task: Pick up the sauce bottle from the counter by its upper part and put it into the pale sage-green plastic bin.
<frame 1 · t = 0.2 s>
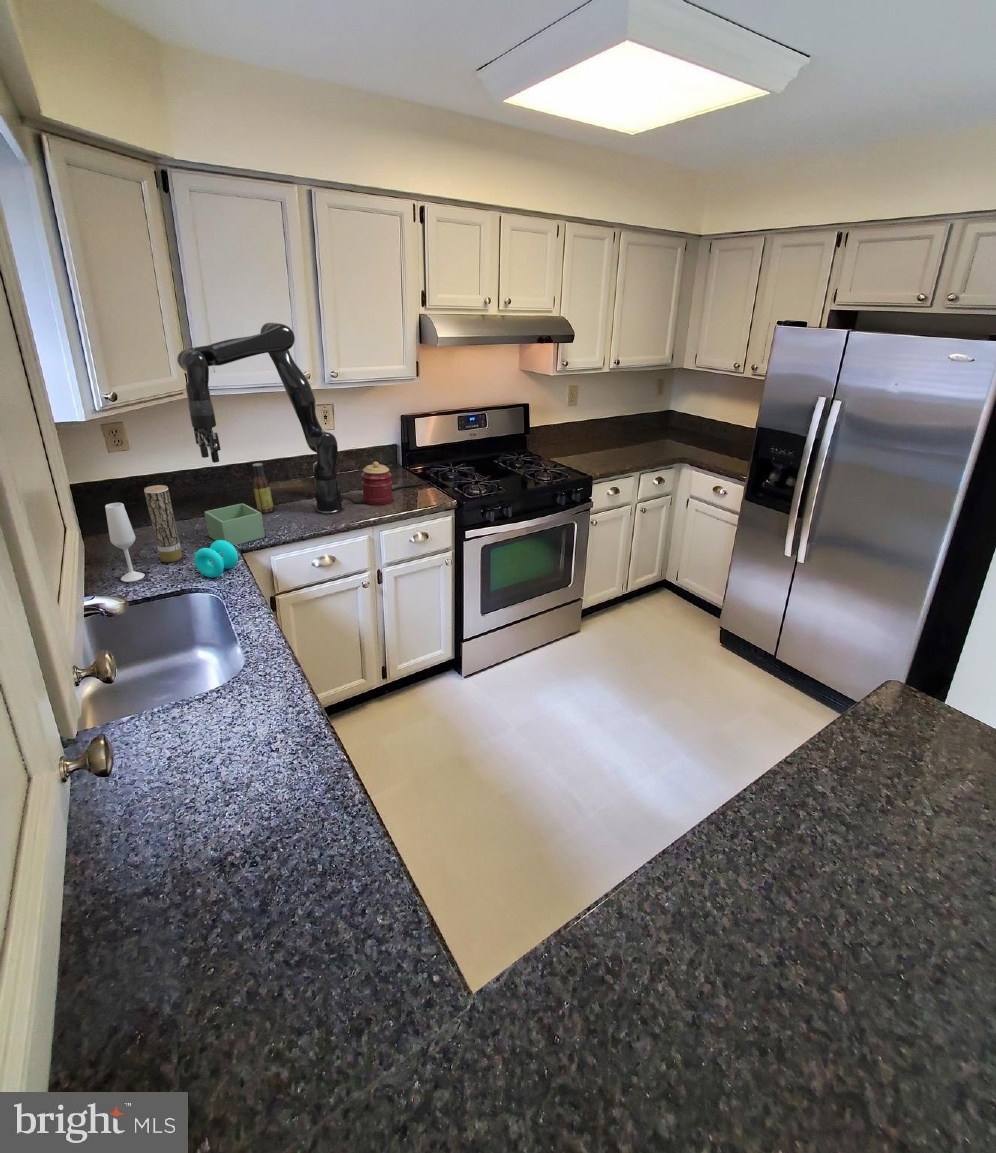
hand: (210, 459, 209), 29 cm above the countertop, tool pointing down, fingers open, 8 cm apart
kitchen canister: (377, 501, 265), on the countertop
sauce bottle: (265, 511, 248), on the countertop
champagne flute: (133, 577, 190), on the countertop
bin: (236, 536, 222), on the countertop
beverage bottle: (330, 497, 267), on the countertop
turquoise yo-yo: (219, 573, 195), on the countertop
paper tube: (171, 559, 203), on the countertop
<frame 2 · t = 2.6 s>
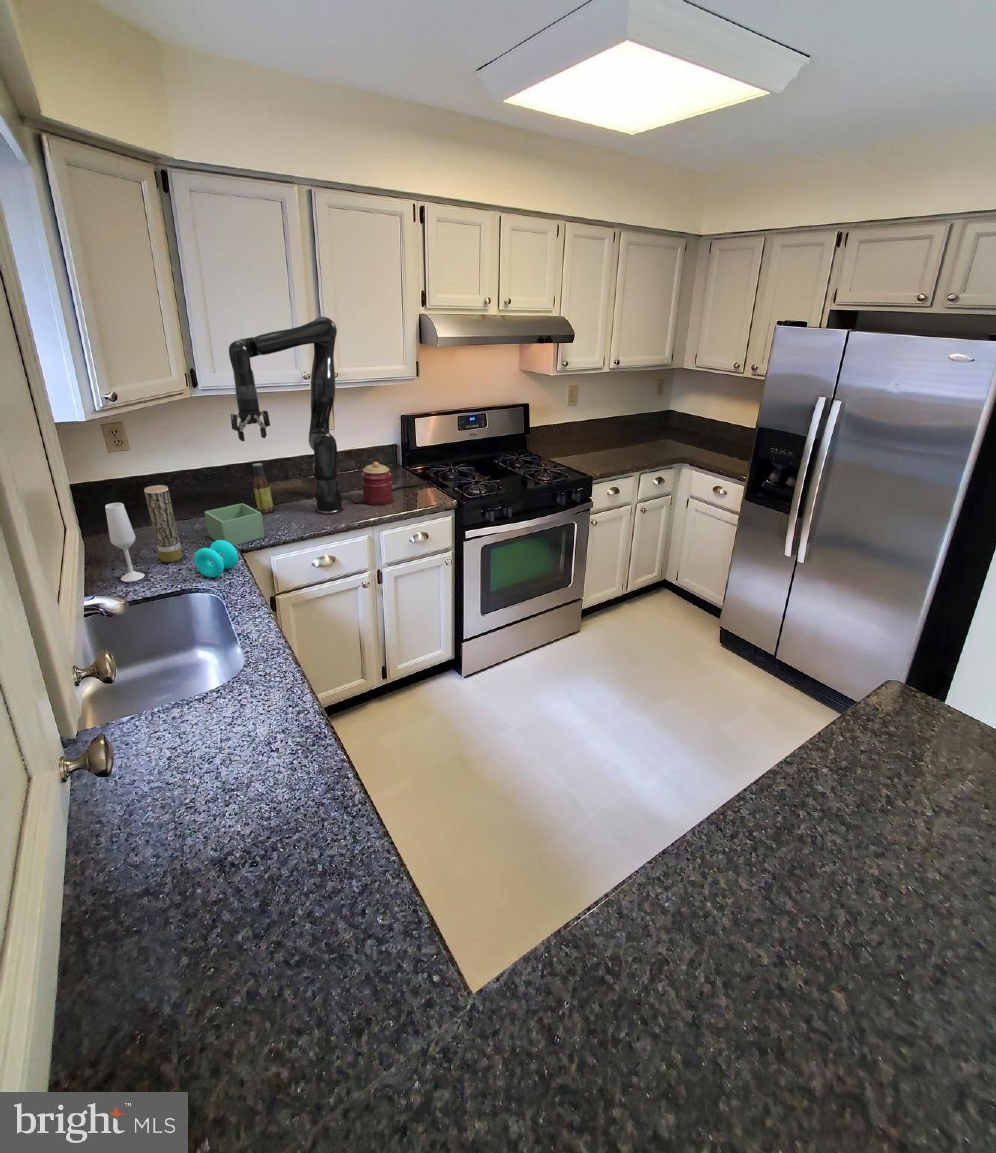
hand: (253, 439, 233), 30 cm above the countertop, tool pointing down, fingers open, 8 cm apart
nothing on the countertop moved.
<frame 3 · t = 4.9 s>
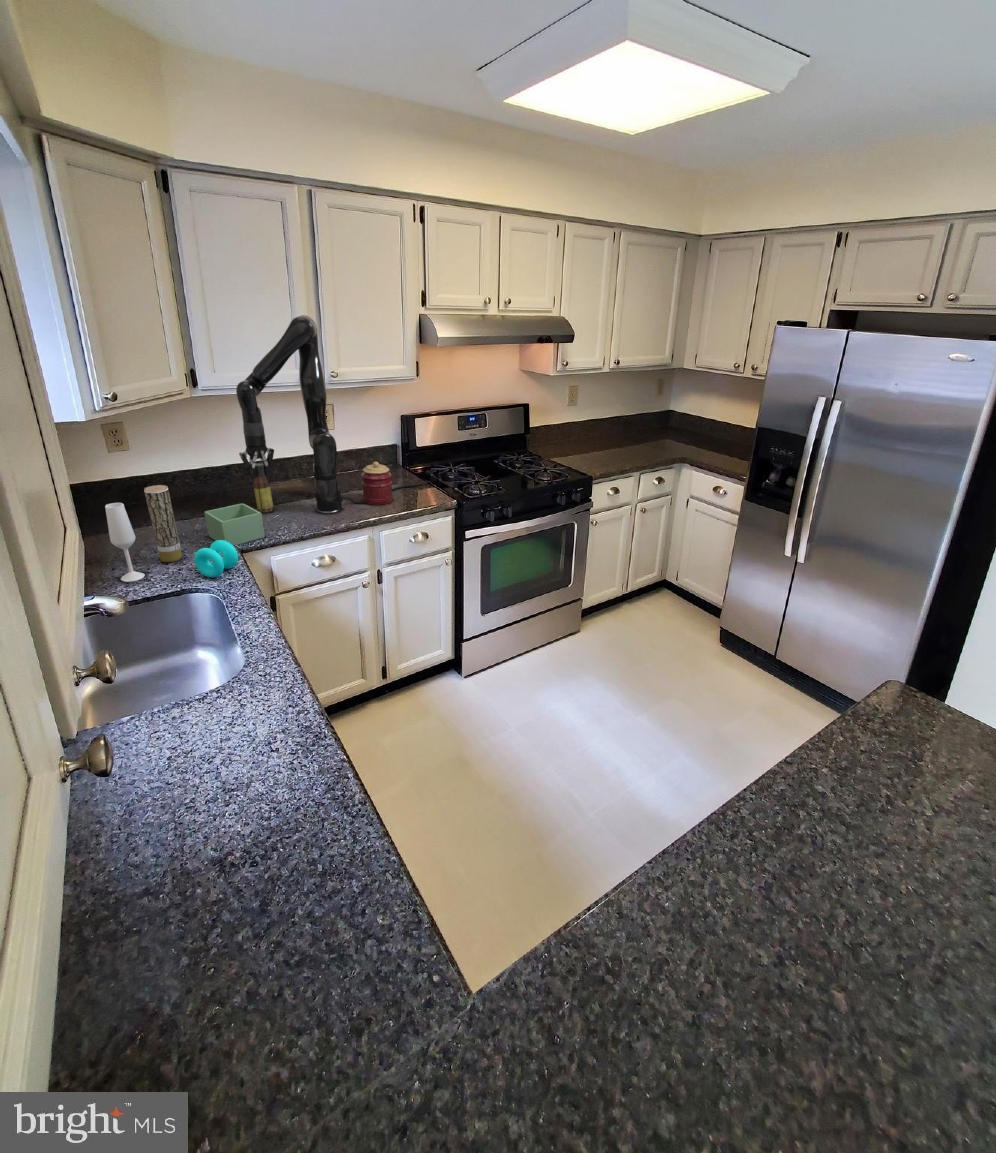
hand: (260, 475, 241), 15 cm above the countertop, tool pointing down, fingers closed on sauce bottle, 4 cm apart
sauce bottle: (265, 511, 248), on the countertop, touching gripper
everything else where it was.
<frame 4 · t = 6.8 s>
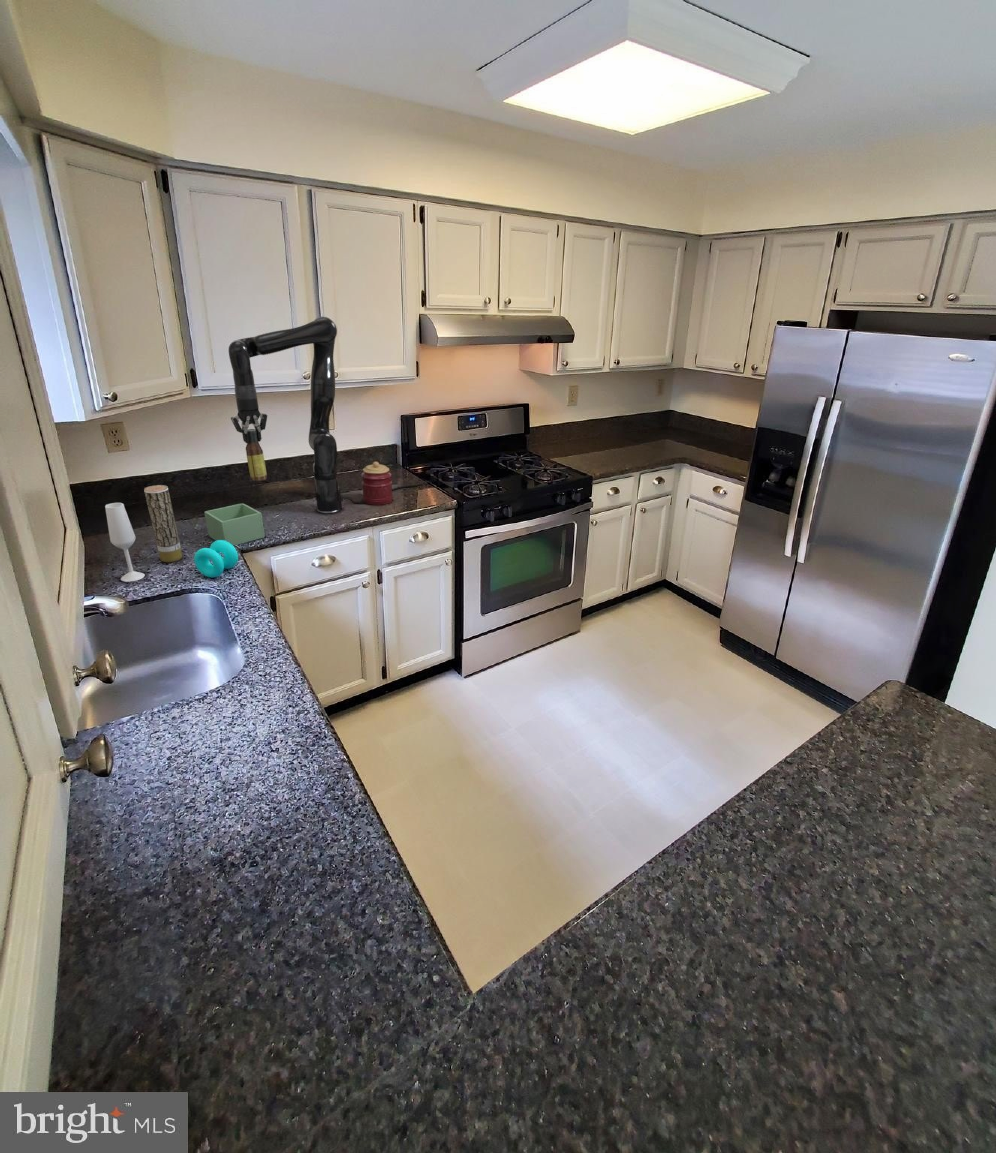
hand: (252, 441, 233), 29 cm above the countertop, tool pointing down, fingers closed on sauce bottle, 4 cm apart
sauce bottle: (258, 480, 239), point 14 cm above the countertop, touching gripper
everything else where it was.
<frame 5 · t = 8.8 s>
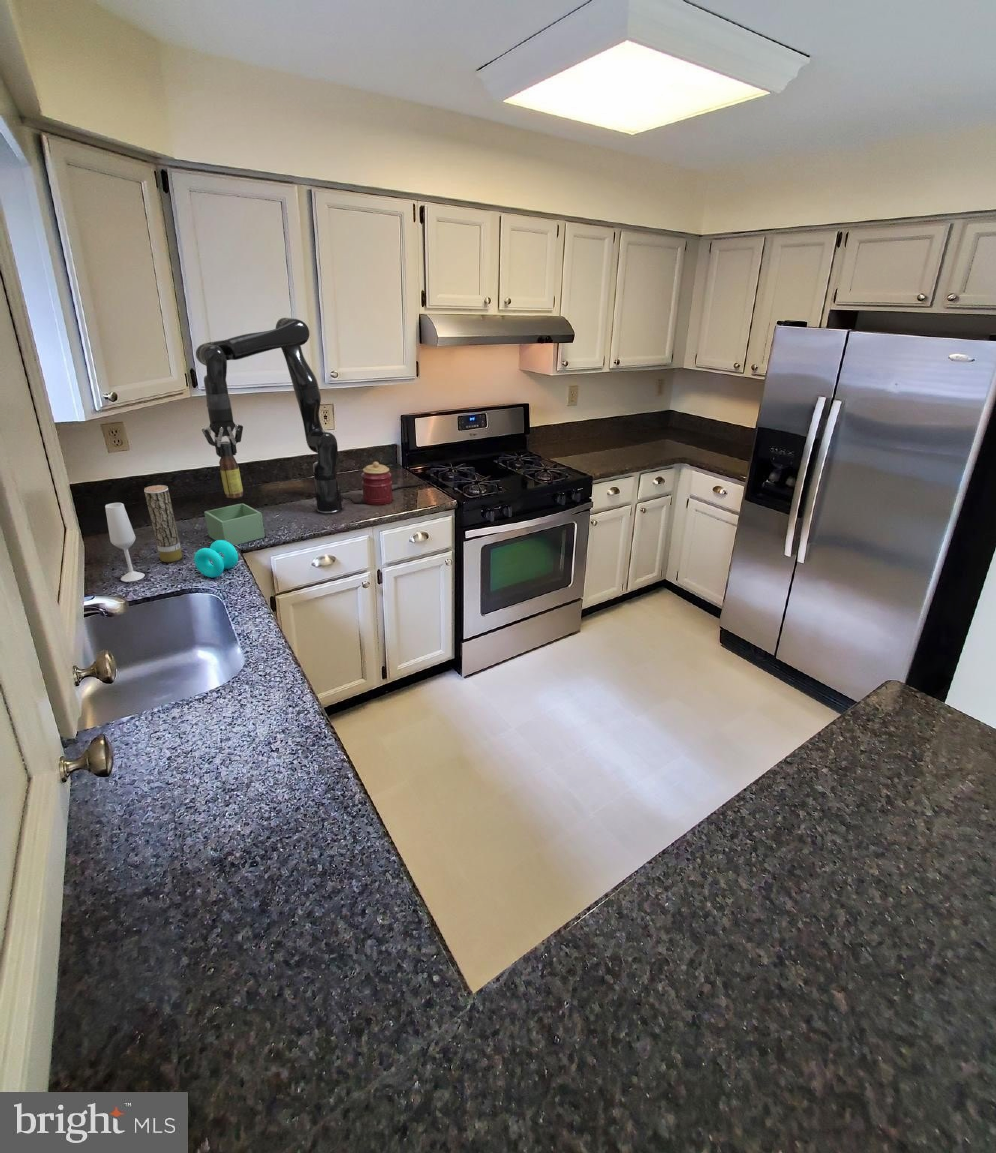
hand: (227, 455, 212), 30 cm above the countertop, tool pointing down, fingers closed on sauce bottle, 4 cm apart
sauce bottle: (234, 497, 219), point 14 cm above the countertop, touching gripper
everything else where it was.
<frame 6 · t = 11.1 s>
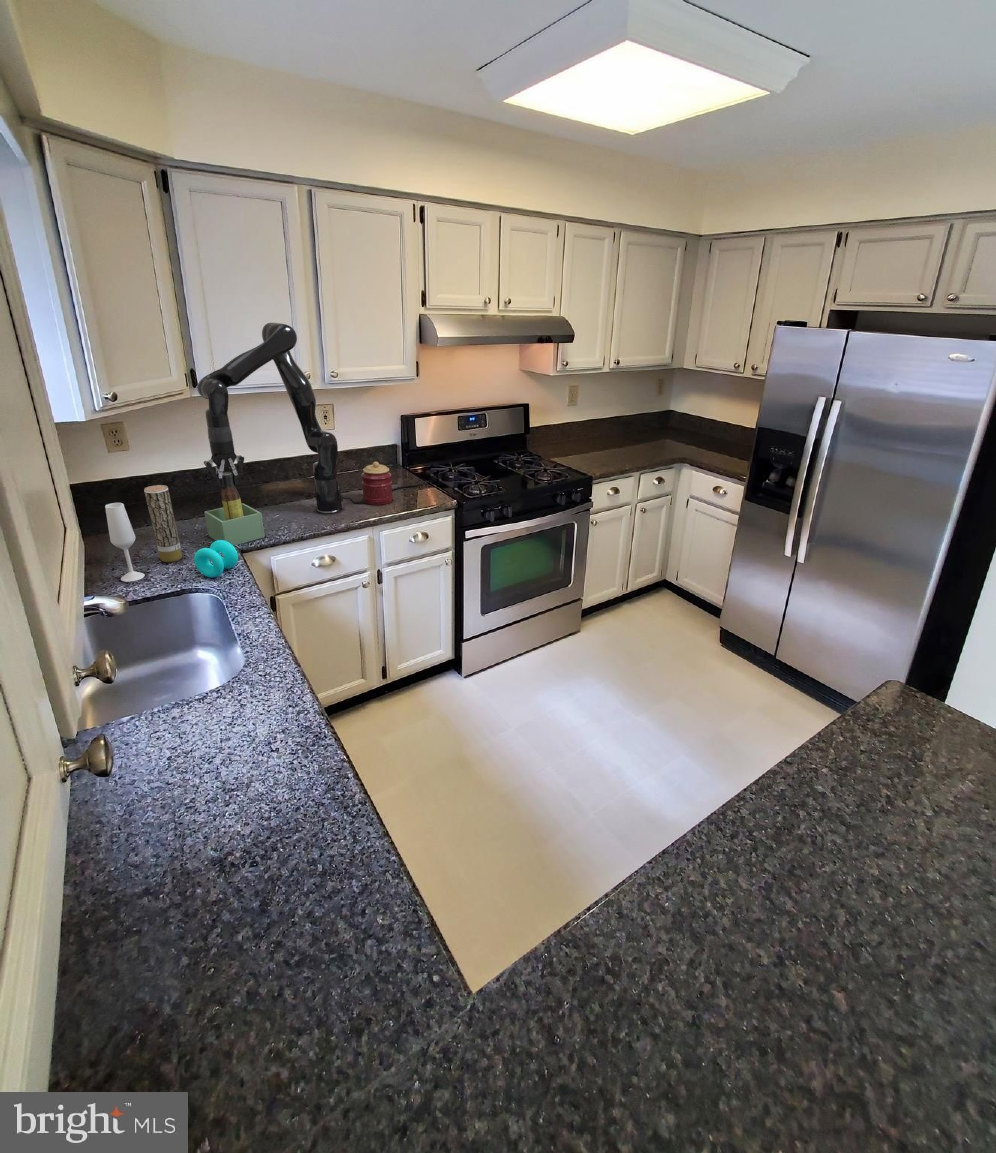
hand: (228, 486, 214), 19 cm above the countertop, tool pointing down, fingers closed on sauce bottle, 4 cm apart
sauce bottle: (235, 526, 221), point 4 cm above the countertop, touching gripper
everything else where it was.
when the fingers open (16 cm above the countertop, at t = 12.6 s): sauce bottle stays where it is, resting on bin.
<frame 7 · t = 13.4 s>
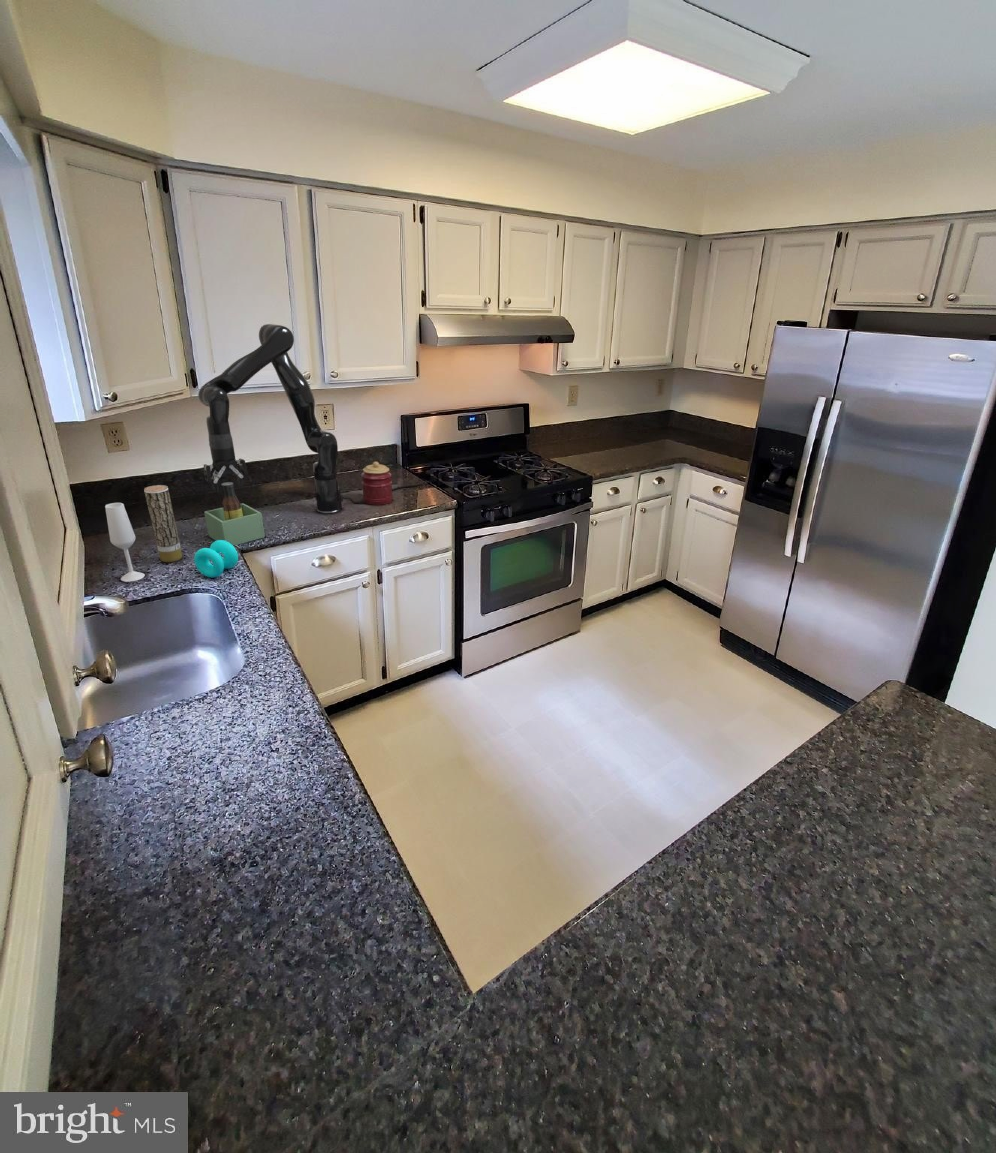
hand: (229, 490, 214), 18 cm above the countertop, tool pointing down, fingers open, 8 cm apart
sauce bottle: (237, 535, 222), resting on bin
everything else where it was.
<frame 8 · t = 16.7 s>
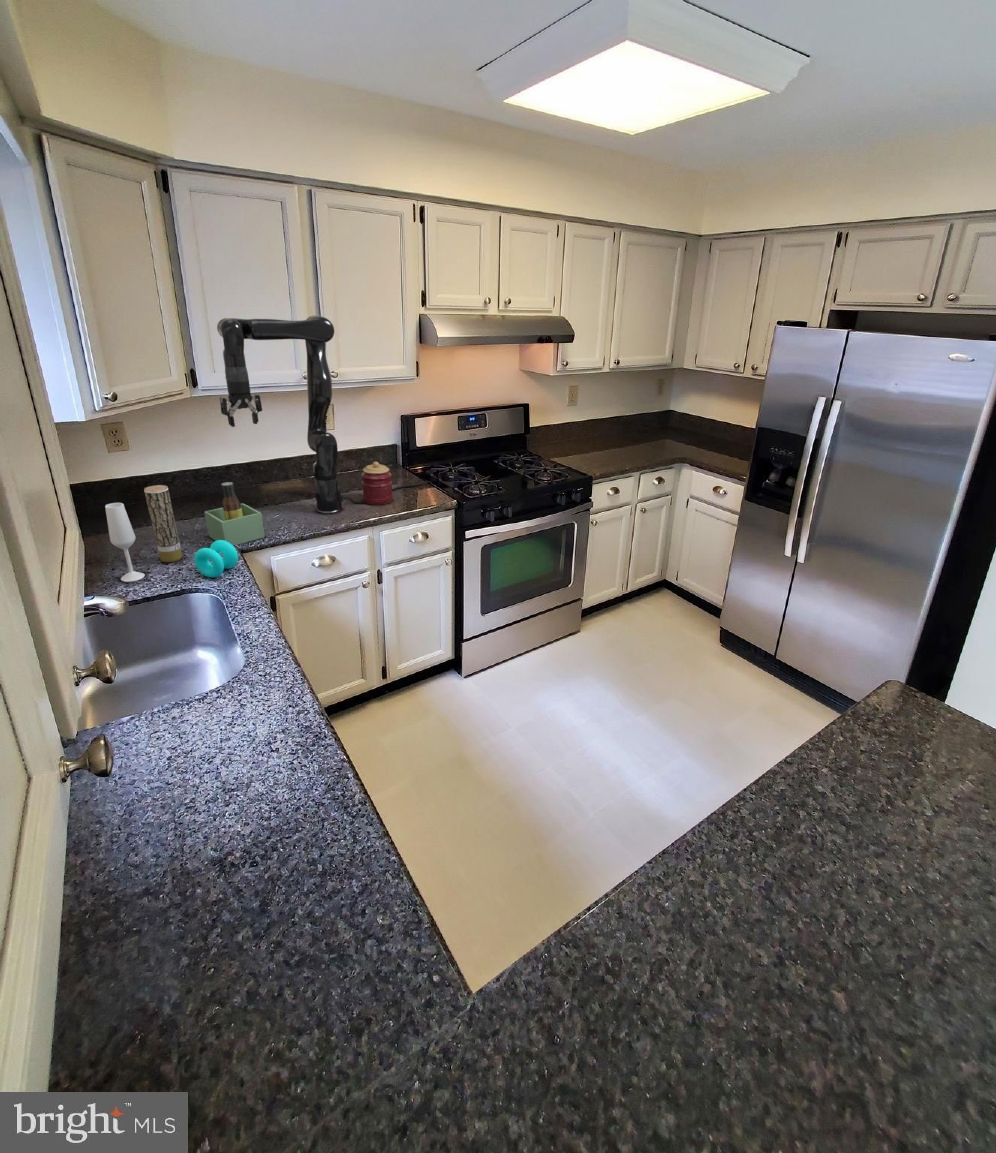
hand: (244, 425, 220), 38 cm above the countertop, tool pointing down, fingers open, 8 cm apart
nothing on the countertop moved.
at the end: sauce bottle inside the target area in the bin (0.2 cm from its centre), point 0.4 cm above the bin's base; the gripper is holding nothing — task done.
